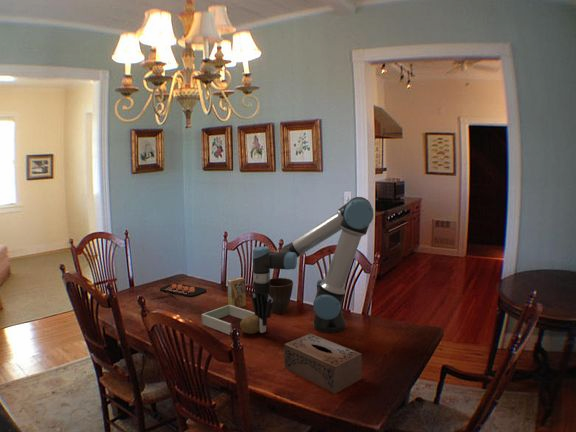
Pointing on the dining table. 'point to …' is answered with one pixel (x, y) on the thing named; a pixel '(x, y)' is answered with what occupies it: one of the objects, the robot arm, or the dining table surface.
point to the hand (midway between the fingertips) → (262, 331)
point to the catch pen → (213, 316)
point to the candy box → (236, 292)
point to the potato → (250, 324)
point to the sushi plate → (186, 288)
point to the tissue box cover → (323, 362)
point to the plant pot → (280, 294)
